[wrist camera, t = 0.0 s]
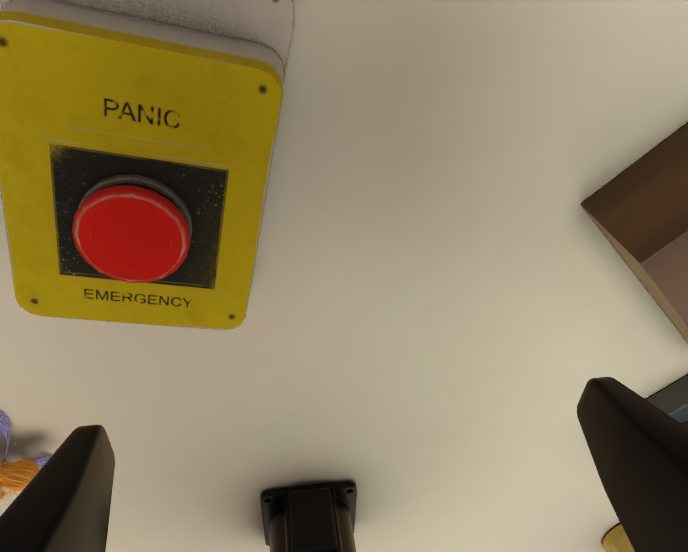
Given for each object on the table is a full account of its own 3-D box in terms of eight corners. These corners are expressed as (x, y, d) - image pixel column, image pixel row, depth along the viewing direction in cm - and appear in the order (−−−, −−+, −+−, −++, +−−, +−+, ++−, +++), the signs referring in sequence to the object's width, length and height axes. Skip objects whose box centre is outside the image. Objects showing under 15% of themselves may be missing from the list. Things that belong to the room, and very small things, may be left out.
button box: (744, 426, 40) (781, 467, 37) (647, 479, 43) (674, 521, 40) (697, 368, 35) (736, 410, 32) (590, 431, 38) (618, 476, 35)
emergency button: (5, 364, 21) (-71, -81, 13) (39, 295, 25) (-3, -91, 16) (243, 377, 23) (310, 7, 15) (244, 312, 27) (298, -18, 19)
